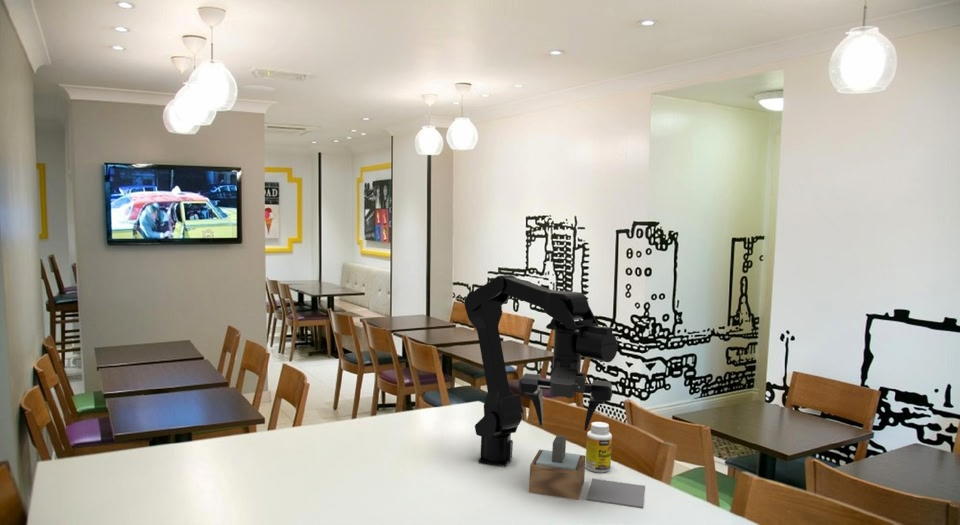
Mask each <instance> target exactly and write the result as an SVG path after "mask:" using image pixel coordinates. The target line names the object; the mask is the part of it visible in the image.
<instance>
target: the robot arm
mask: <svg viewBox="0 0 960 525" xmlns="http://www.w3.org/2000/svg"><path fill="white" fill-rule="evenodd" d="M511 297H512V298H514V299H517V300H520V301H522V302H524V303H528V304H531V305H534V306H535V307H539V308H540V309H542V310H543V311H544V312H545V314H546V315H548V316H549V317H551V318H552V321H551V322H550V323H548V324H547V325H546V326H545V328H546V329H547V330H551V331H552V330H553V331H554V336H553V337H554V339H553V340H554V341H553V353H552V354H553V356H552V357H553V358H552V369H551V371H550V378H549V379H542V374H535V373H524V374H523V375H522V377H520V379H519V383H518V392H520V393H524V396H525V397H528V398H530V400H531V401H532V404H533V406H534V408H535V412H536V416H537V418H538V423H539V426H543V423H544V404H543V399H544V398H543V390H550V391H549V392H550V393H549V394H550V396H552V397H554V398H557V397H561V398H567V399H572V398H574V397H575V396H576V395H575V394H576V393H579V394H580V393H581V394H589V395H590V397H589V399H588V400H589V401H588V406H587V411H586V415H585V416H586V417H585V420H584V431H585V432H586V431H587V430H588V428H589V425H590V424H591V423H590V422H591V420H592V417H593V415H594V412H595V411H596V409H597V407H598V406H599V405H604V404H605V402H610V401H611V400H612V391H613V390H612V387H613V384H612V382H611V381H608V380H607V381H606V380H596V379H593V380H592V382H591V384H589V383H586V380H587V379H586V375H587V374H586V373H584V372H582V373H581V370H582V369H581V366H582V358H587V359H590V360H595V361H599V362H604V363H610V362H613V360H615V357H616V355H617V353H618V349H619V343H618V342H617V337H616V335H615V334H613V327H611V326H599V323H598V321H597V319H596V317H595V315H594V313H593V311H592V310H591V307H590V305H589V300H588V299H587V296H586V294H584V293H582V292H578V291H568V290H556V289H555V290H554V289H550V288H547V287H544V286H542V285H538V284H535V283H533V282H530V281H527V280H524V279H522V278H521V279H520V278H519V277H516V276H514V275H512V274H504V275H503V274H500V275H496V277H494V278H493V279H491V281H489V282H487V283H485V284H483V285H482V286H481V285H480V286H479V287H477V288H476V289H474V290H472V291H470V292H468V293H467V295H466V297H465V298H464V308H465V309H464V310H465V312H466V315H467V318H468V320H469V322H470V323H471V324H472V325H473V327H474V328H475V330H476V332H477V337H478V344H479V349H480V356H481V361H482V367H483V372H484V377H485V383H486V389H487V394H486V397H485V400H484V403H483V417H482V418H480V420H479V421H477V422H476V424H474V429H475V434H476V436H479V437H480V438H481V439H480V457H479V459H478V460H477V462H478V463H481V464H487V465H495V466H499V467H500V466H503V467H506V466H507V465H508V464H509V462H510V461H511V460H512V458H513V452H514V451H513V447H514V446H513V445H514V441H513V439H512V438H511V436H512V434H514V433H517V430H518V428H519V425H520V423H521V422H522V420H523V413H524V412H525V411H524V409H523V407H522V398H521V395H520V394H514V393H513V391H512V390H511V388H510V385H509V380H508V375H507V374H508V373H507V369H506V363H505V358H504V352H503V348H502V347H503V346H502V339H501V336H500V330H499V325H500V321H501V319H502V315H503V305H504V304H505V303H507V302H508V301H509V299H510V298H511Z"/></svg>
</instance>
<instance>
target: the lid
mask: <svg viewBox="0 0 960 525" xmlns="http://www.w3.org/2000/svg"><path fill="white" fill-rule="evenodd" d="M566 442H567V436H565V435H559V434H558V435H556V436H555V438H554V439H553V441H552V450H548V449H547V450H546V449H542V450H543V451H542V453H541V454H540V456H539V458H538V460H537V462H536V465H540V466H547V467H554V468H561V469H569V470H576V469H577V466H578V464H579V461H580V455H581V454H577V453H571V452H566V448H567V446H566V445H567V443H566Z"/></svg>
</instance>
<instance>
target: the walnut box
mask: <svg viewBox="0 0 960 525" xmlns="http://www.w3.org/2000/svg"><path fill="white" fill-rule="evenodd" d="M543 450H544V449H538V450H537V453H536V454H535V456H534V458H533V459H532V462H531V463H530V465H529V479H528V480H529V483H528V493H530V492H531V494H536V495H537V494H538V495H545V496H552V497H557V498H564V499H565V498H566V499H573V500H579V499H580V496H581V493H582V490H583V487H584V483H585V475H586V465H585V464H586V454H579V455H580V461H579V464H578V466H577V469H576V470H569V469H561V468H554V467H547V466H540V465H536V462H537V460H538V458H539V456H540V454H541V453H542V451H543Z"/></svg>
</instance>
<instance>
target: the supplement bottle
mask: <svg viewBox="0 0 960 525" xmlns="http://www.w3.org/2000/svg"><path fill="white" fill-rule="evenodd" d="M586 434H587V435H586V447H585V448H586V449H585V450H586V451H585V456H586V458H585V469H587V470H588V471H591V472H593V473H600V474H601V473H607V472H609V471H610V470H611V463H612V462H611V461H612V446H613V443H612V442H613V435H612V433H611V432H610V425H609V423H607V422H603V421H594V422H591V423H590V430H589V431H587V433H586Z"/></svg>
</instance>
